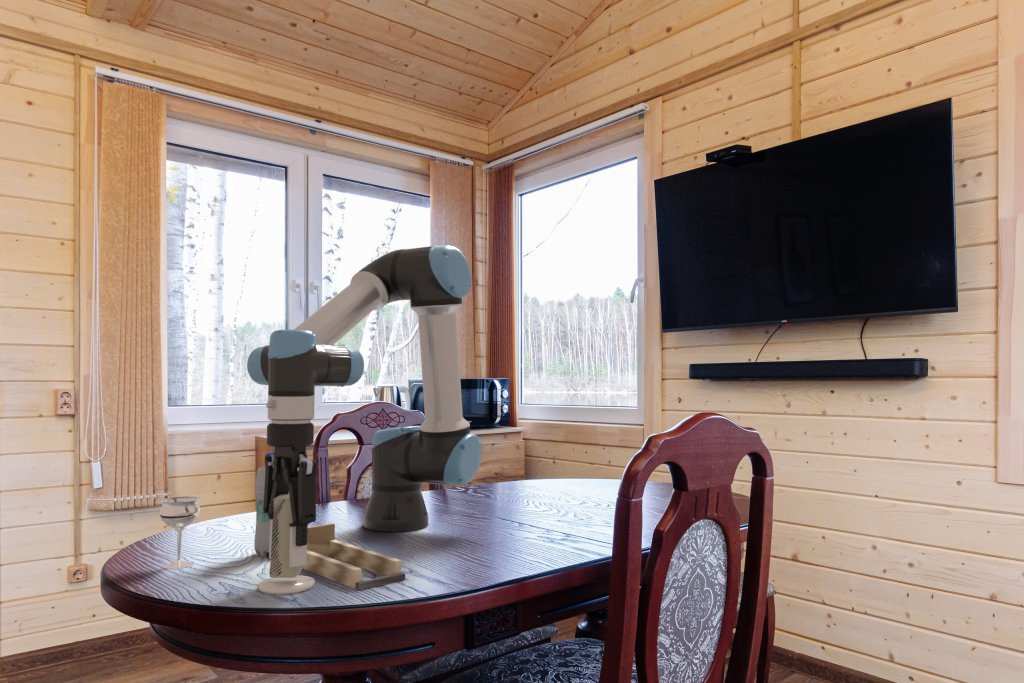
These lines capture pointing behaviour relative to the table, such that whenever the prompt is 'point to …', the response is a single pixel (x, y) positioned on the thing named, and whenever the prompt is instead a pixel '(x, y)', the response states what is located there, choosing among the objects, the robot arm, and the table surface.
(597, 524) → the table surface
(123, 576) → the table surface
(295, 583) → the coaster
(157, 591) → the table surface
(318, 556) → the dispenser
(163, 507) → the wineglass
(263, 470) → the bottle
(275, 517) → the box
